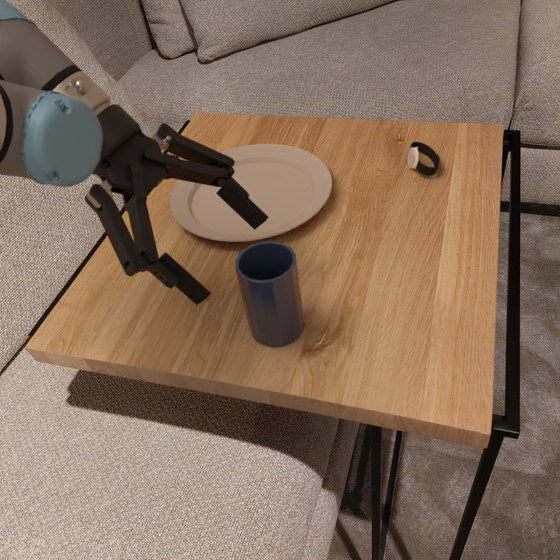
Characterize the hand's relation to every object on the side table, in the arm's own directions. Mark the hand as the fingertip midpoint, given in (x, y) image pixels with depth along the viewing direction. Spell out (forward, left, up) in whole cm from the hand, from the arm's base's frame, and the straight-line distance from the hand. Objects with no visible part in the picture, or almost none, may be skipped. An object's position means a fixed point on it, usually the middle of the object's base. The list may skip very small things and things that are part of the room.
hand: (234, 259), depth 68 cm
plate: (-10, +23, -10) cm, 27 cm away
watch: (+14, +37, -10) cm, 41 cm away
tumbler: (+4, -1, -10) cm, 11 cm away
